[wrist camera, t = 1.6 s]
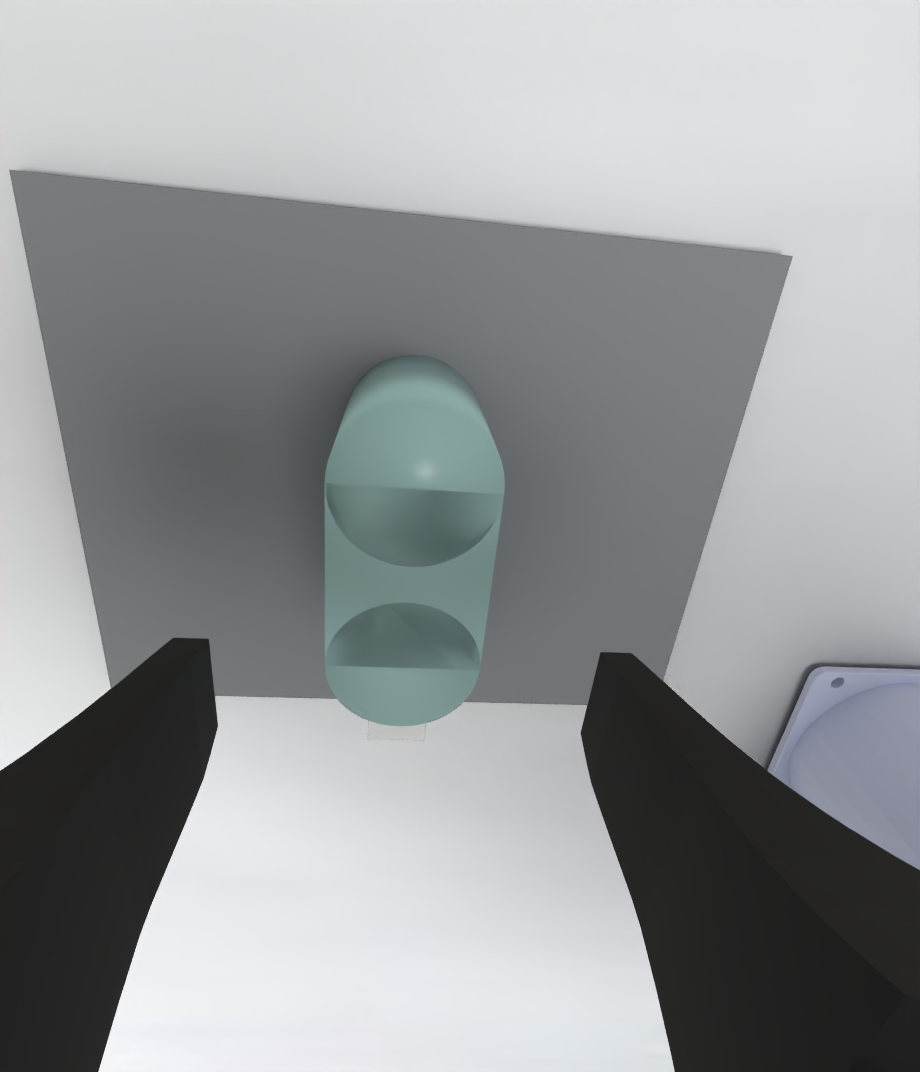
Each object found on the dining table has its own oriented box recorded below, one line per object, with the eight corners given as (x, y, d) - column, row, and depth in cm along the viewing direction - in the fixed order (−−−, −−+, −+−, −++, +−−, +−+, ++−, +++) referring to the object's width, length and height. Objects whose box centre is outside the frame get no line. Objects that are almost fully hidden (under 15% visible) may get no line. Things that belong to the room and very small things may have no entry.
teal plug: (346, 349, 17) (324, 392, 13) (489, 361, 18) (516, 407, 13) (341, 674, 22) (325, 788, 18) (452, 678, 23) (463, 789, 18)
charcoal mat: (782, 255, 17) (792, 255, 17) (650, 697, 24) (654, 706, 24) (21, 171, 15) (9, 169, 15) (117, 683, 22) (112, 692, 22)
